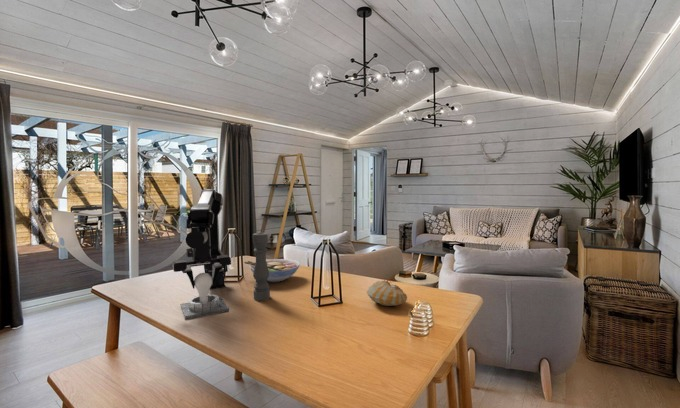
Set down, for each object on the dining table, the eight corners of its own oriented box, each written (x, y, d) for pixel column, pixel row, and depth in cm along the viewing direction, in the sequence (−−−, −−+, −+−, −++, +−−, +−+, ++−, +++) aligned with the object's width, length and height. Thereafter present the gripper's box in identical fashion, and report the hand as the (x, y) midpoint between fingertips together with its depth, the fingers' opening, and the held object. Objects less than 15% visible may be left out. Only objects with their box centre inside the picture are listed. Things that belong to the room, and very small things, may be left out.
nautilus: (376, 292, 140) (413, 298, 134) (359, 307, 120) (402, 314, 114) (377, 273, 140) (415, 278, 134) (360, 284, 120) (403, 291, 114)
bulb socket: (220, 299, 132) (220, 290, 132) (228, 310, 120) (228, 301, 120) (180, 306, 125) (180, 297, 125) (185, 319, 113) (184, 309, 113)
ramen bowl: (312, 279, 158) (312, 261, 157) (272, 291, 141) (271, 272, 140) (278, 270, 174) (277, 255, 174) (238, 281, 157) (237, 263, 157)
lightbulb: (195, 307, 118) (194, 276, 118) (193, 302, 124) (192, 272, 123) (214, 304, 121) (213, 273, 120) (211, 299, 126) (210, 269, 126)
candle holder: (250, 299, 131) (248, 234, 130) (259, 294, 137) (258, 232, 135) (264, 301, 129) (262, 235, 127) (273, 296, 135) (271, 233, 133)
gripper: (224, 237, 133) (225, 277, 134) (170, 242, 123) (172, 285, 124) (230, 241, 123) (232, 284, 124) (173, 247, 114) (175, 293, 115)
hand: (203, 286), depth 122 cm, fingers closed on lightbulb, 6 cm apart
